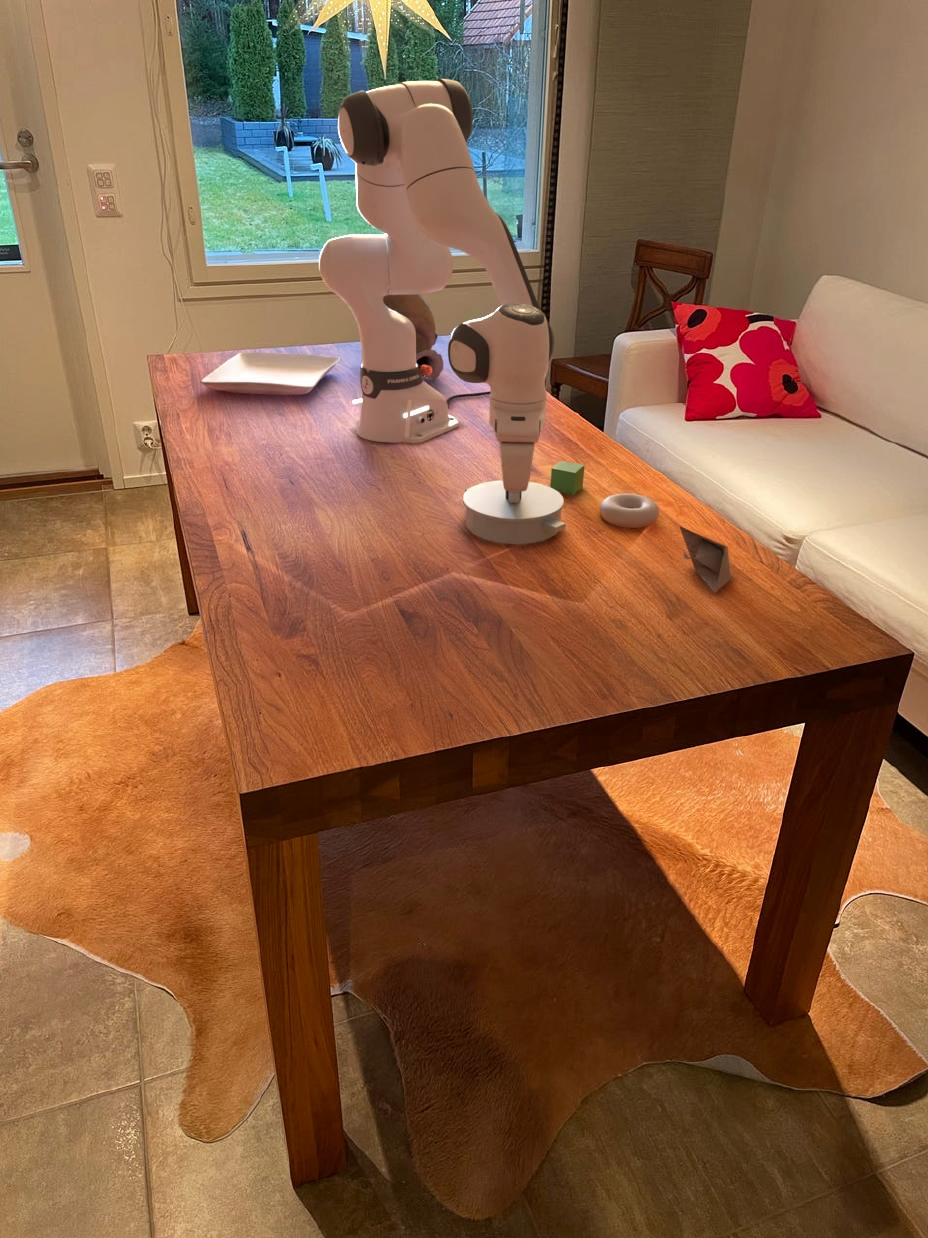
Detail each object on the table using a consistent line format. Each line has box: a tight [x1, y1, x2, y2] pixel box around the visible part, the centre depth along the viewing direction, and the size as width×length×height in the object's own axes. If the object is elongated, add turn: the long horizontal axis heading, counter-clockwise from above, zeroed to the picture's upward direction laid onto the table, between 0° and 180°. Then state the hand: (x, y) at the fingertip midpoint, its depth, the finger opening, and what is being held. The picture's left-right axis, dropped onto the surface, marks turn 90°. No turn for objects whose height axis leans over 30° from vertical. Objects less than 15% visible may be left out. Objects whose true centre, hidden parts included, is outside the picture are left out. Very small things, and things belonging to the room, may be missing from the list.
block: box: [549, 460, 585, 496], centre depth 167 cm, size 5×5×5 cm
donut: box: [599, 492, 660, 529], centre depth 156 cm, size 10×3×10 cm
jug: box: [383, 294, 445, 381], centre depth 235 cm, size 20×20×30 cm
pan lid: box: [462, 479, 565, 522], centre depth 151 cm, size 17×17×5 cm
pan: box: [464, 487, 567, 545], centre depth 153 cm, size 16×21×4 cm
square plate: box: [200, 352, 341, 396], centre depth 225 cm, size 27×27×4 cm
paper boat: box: [679, 525, 732, 594], centre depth 138 cm, size 12×6×9 cm
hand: (513, 496), depth 151 cm, fingers closed on pan lid, 3 cm apart
